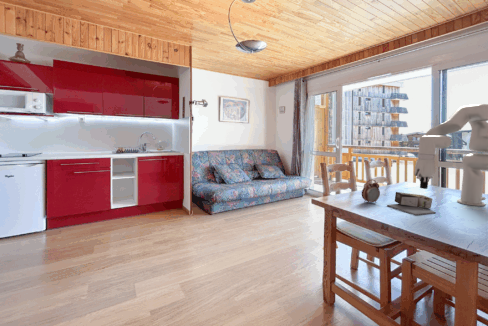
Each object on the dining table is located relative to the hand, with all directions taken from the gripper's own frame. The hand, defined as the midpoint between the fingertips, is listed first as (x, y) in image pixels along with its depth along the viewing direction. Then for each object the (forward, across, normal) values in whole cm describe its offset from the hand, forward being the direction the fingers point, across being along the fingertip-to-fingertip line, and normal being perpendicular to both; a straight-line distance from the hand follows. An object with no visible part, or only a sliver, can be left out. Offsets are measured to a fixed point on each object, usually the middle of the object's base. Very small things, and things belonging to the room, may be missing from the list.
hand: (423, 188), depth 136 cm
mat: (+12, +9, 0) cm, 15 cm away
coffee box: (+9, -6, -1) cm, 11 cm away
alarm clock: (+12, +20, -18) cm, 30 cm away
